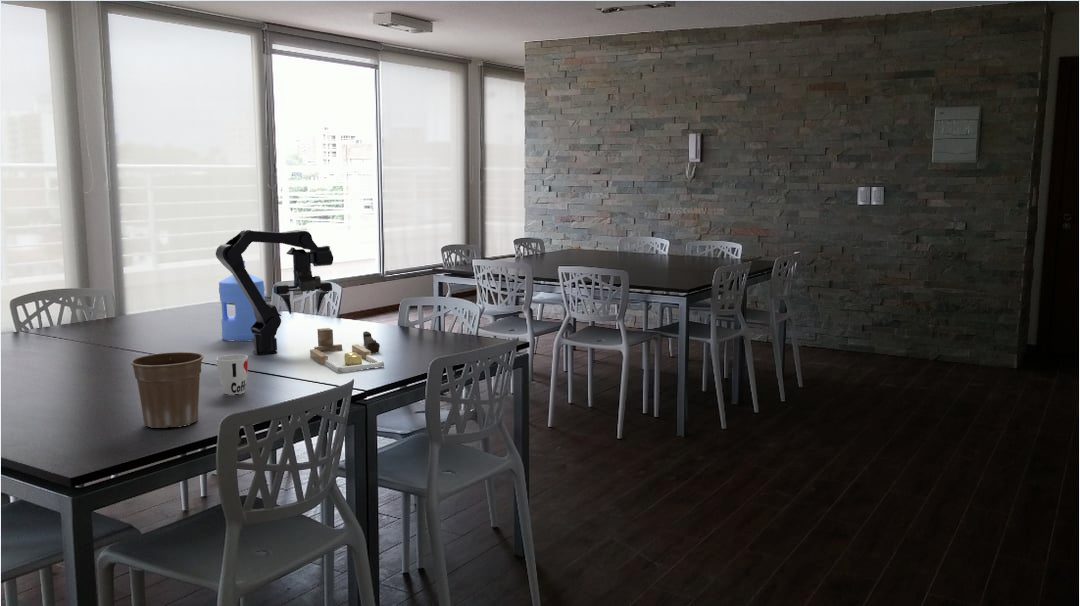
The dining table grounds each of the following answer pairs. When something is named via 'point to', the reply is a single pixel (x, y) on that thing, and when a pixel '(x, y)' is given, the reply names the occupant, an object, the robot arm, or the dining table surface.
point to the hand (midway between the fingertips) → (304, 312)
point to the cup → (233, 373)
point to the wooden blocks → (322, 357)
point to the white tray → (355, 367)
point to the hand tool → (370, 342)
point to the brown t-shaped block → (326, 341)
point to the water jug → (238, 309)
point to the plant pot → (168, 388)
